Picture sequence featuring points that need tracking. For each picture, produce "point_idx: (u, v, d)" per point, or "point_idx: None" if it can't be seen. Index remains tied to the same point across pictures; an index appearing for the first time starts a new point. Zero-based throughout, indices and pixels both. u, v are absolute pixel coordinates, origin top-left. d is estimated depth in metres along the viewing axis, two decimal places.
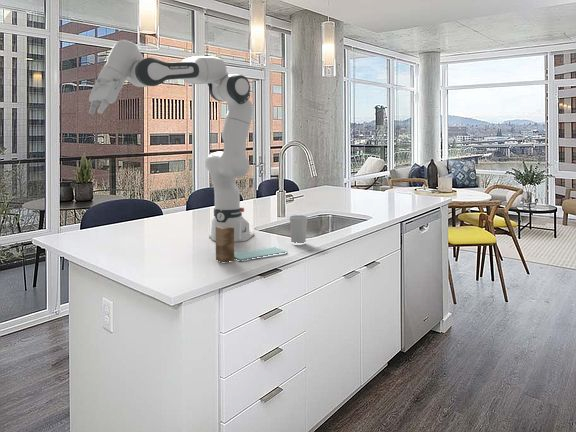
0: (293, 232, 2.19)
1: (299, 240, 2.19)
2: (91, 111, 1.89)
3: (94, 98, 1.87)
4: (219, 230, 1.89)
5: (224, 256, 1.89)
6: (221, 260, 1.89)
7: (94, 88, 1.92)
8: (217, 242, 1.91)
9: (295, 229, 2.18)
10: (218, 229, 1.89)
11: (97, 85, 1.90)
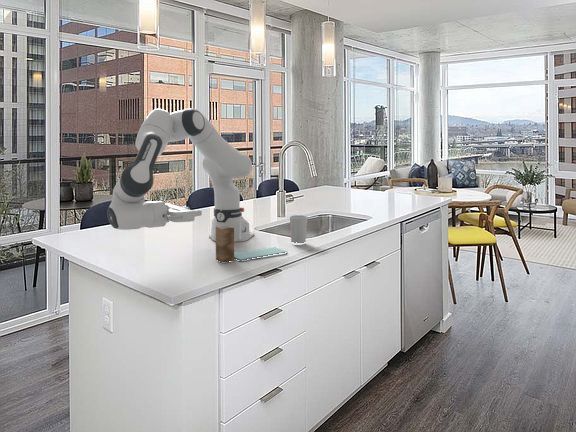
0: (293, 232, 2.19)
1: (299, 240, 2.19)
2: None
3: None
4: (219, 230, 1.89)
5: (224, 256, 1.89)
6: (221, 260, 1.89)
7: None
8: (217, 242, 1.91)
9: (295, 229, 2.18)
10: (218, 229, 1.89)
11: None
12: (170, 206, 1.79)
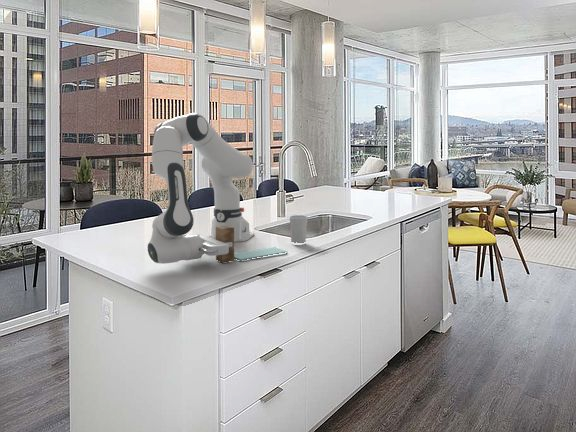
0: (293, 232, 2.19)
1: (299, 240, 2.19)
2: None
3: None
4: (219, 230, 1.89)
5: (224, 256, 1.89)
6: (221, 260, 1.89)
7: None
8: None
9: (295, 229, 2.18)
10: (218, 229, 1.89)
11: None
12: (204, 238, 1.89)
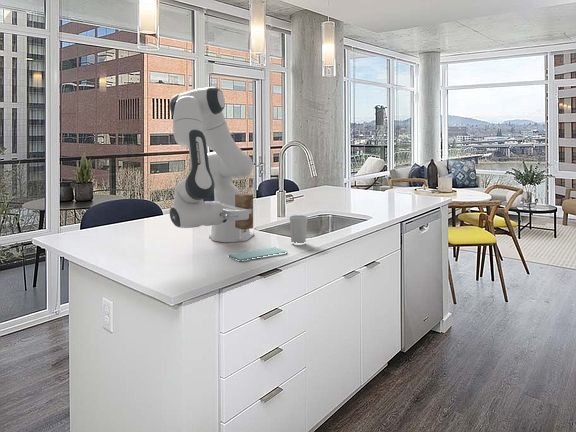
0: (293, 232, 2.19)
1: (299, 240, 2.19)
2: None
3: None
4: (238, 197, 1.92)
5: (243, 223, 1.92)
6: (240, 227, 1.93)
7: None
8: None
9: (295, 229, 2.18)
10: (237, 196, 1.92)
11: None
12: (224, 205, 1.92)
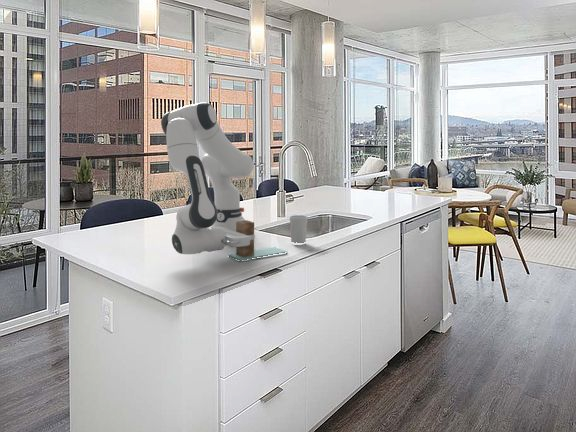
0: (293, 232, 2.19)
1: (299, 240, 2.19)
2: None
3: None
4: (240, 225, 1.94)
5: (244, 251, 1.94)
6: (241, 254, 1.95)
7: None
8: None
9: (295, 229, 2.18)
10: (239, 224, 1.94)
11: None
12: (225, 230, 1.94)
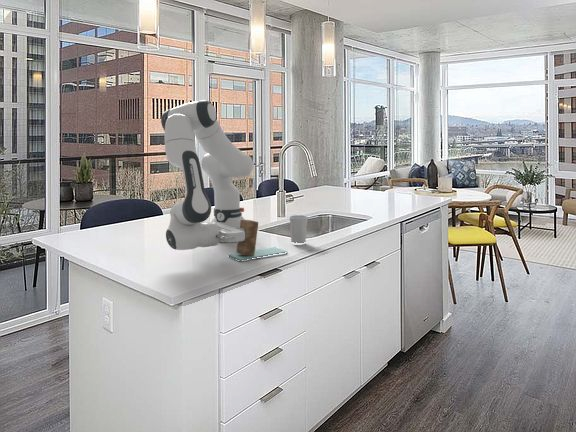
0: (293, 232, 2.19)
1: (299, 240, 2.19)
2: None
3: None
4: (244, 223, 1.95)
5: (245, 249, 1.94)
6: (242, 252, 1.95)
7: None
8: None
9: (295, 229, 2.18)
10: (243, 222, 1.95)
11: None
12: (220, 226, 1.93)
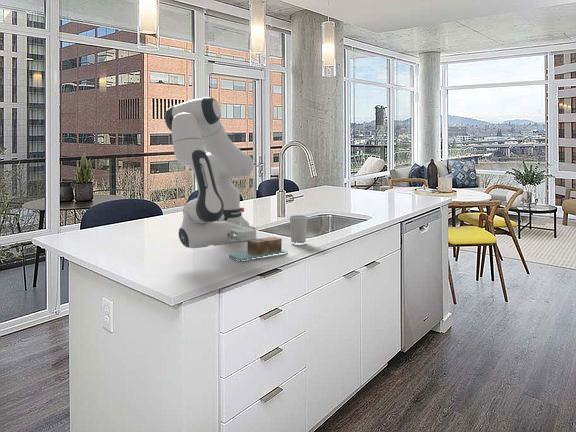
0: (293, 232, 2.19)
1: (299, 240, 2.19)
2: None
3: None
4: (276, 238, 2.05)
5: (259, 244, 1.98)
6: (255, 242, 1.97)
7: None
8: (264, 238, 2.04)
9: (295, 229, 2.18)
10: (276, 237, 2.06)
11: None
12: (231, 225, 1.95)
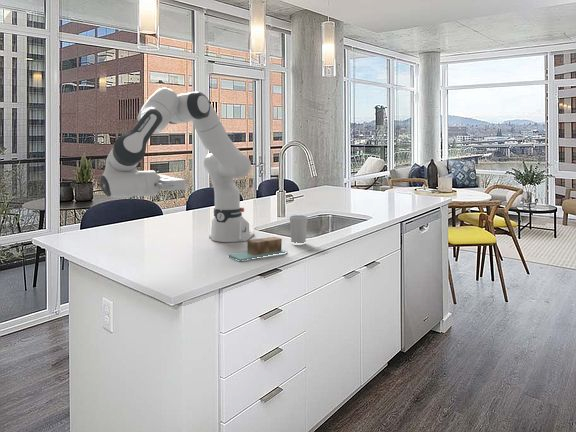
0: (293, 232, 2.19)
1: (299, 240, 2.19)
2: None
3: None
4: (276, 238, 2.05)
5: (259, 244, 1.98)
6: (255, 242, 1.97)
7: None
8: (264, 238, 2.04)
9: (295, 229, 2.18)
10: (276, 237, 2.06)
11: None
12: (162, 176, 1.84)
